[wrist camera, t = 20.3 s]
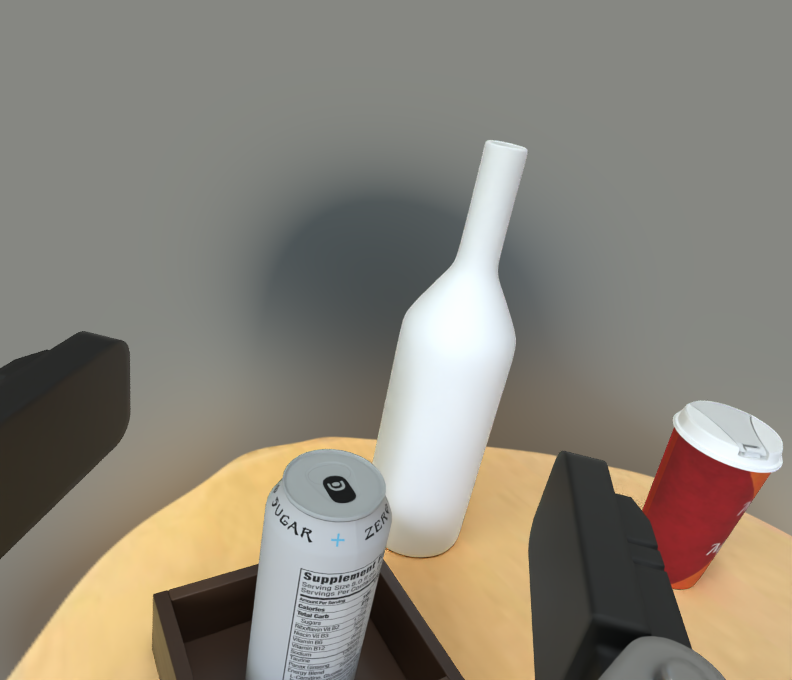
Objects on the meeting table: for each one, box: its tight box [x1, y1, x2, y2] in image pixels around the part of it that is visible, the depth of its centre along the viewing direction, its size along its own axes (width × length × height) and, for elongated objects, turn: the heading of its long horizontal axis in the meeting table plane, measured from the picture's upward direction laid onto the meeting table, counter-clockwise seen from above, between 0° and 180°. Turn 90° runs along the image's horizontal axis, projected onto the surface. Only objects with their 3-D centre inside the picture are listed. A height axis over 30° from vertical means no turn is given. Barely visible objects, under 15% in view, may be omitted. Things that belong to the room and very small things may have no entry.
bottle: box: [372, 140, 527, 557], centre depth 43 cm, size 8×8×30 cm
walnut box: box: [152, 560, 465, 680], centre depth 34 cm, size 14×12×5 cm
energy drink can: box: [246, 449, 392, 680], centre depth 31 cm, size 6×6×15 cm
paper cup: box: [642, 400, 783, 589], centre depth 47 cm, size 8×8×14 cm
